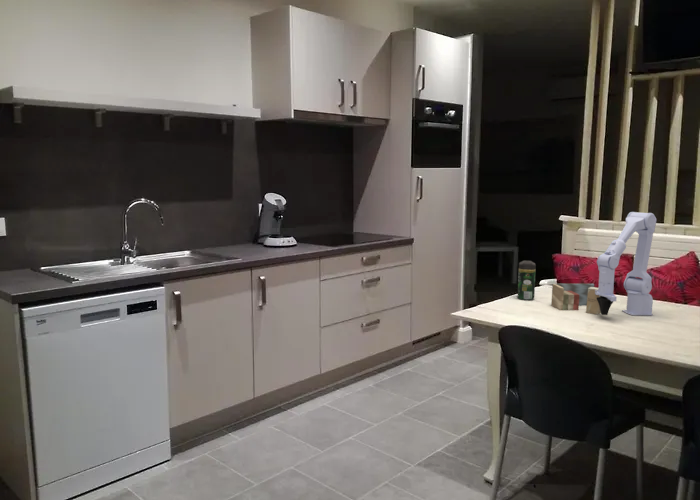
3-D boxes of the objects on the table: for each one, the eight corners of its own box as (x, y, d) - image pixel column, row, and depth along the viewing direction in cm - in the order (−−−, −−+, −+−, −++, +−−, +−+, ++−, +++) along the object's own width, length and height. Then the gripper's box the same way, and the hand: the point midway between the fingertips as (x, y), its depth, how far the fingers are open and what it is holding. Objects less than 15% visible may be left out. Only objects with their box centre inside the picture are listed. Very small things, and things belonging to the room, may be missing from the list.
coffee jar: (517, 296, 274) (518, 259, 272) (533, 297, 272) (535, 260, 269) (517, 300, 265) (519, 261, 262) (534, 301, 263) (536, 262, 260)
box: (585, 312, 240) (587, 287, 239) (589, 311, 243) (590, 286, 242) (598, 314, 237) (599, 289, 235) (601, 313, 240) (603, 288, 238)
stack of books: (593, 305, 255) (594, 283, 254) (603, 310, 245) (605, 288, 244) (550, 304, 255) (551, 283, 254) (559, 310, 245) (560, 288, 243)
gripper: (588, 279, 236) (586, 310, 238) (605, 286, 222) (603, 318, 223) (605, 279, 236) (602, 310, 238) (622, 286, 222) (620, 318, 223)
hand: (604, 314), depth 231 cm, fingers closed
